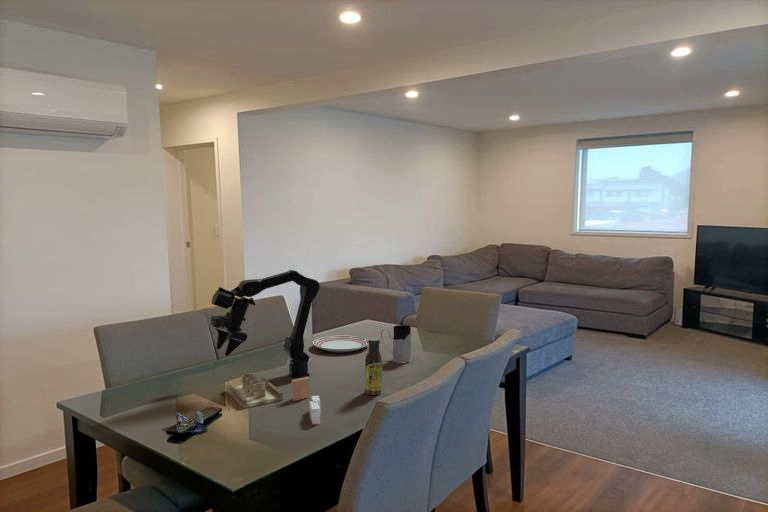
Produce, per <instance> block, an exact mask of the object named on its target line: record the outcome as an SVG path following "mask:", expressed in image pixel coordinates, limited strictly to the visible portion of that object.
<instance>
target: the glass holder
mask: <svg viewBox="0 0 768 512" xmlns="http://www.w3.org/2000/svg"><path fill="white" fill-rule="evenodd" d="M384 330H386V331H387V332H388V333H389V334H388V335H389V338H390V339H391V340H392V345H393V346H392V347H393V348H392V349H393V350H392V349H390V347H388V346H387V344H385V341H384V340H383V335H382V334H383V331H384ZM391 335H392V334H391V331H390V329H388V328H383V329H382V330H381V331H380V340H381V342H382V343H383V345H384V347H385V348H386V349H387V350H388V351H390V353H391V354H392V357H393V358H392V360H393V361H395V362H409V361H411V360H412V361H413V359H412V327H411V326H410V325H405V324H399V325H398V324H397V325H394V326H393V337H392V336H391ZM393 361H392V362H393Z"/></svg>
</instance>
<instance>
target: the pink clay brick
mask: <svg viewBox="0 0 768 512" xmlns="http://www.w3.org/2000/svg"><path fill="white" fill-rule="evenodd" d="M310 386H311V384H310V377H308V376H304V377H299V378H294V379H291V399H293V401H294V402H295V401H300V399H301V400H304V398H305V399H308V398H309V397H310V398H311V387H310Z"/></svg>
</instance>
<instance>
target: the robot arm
mask: <svg viewBox="0 0 768 512" xmlns="http://www.w3.org/2000/svg"><path fill="white" fill-rule="evenodd" d="M290 282H293V283H295V284H296V285H299V297H300V300H299V305H298V309H297V313H296V316H295V321H294V324H293V329H292V333H291V334H290V335H289V337H288V336H286V337H285V339H284V340H285V341H284V344H283V346H282V347H283V348H284V349H283V350H284V353H285V354H286V355H287V356H288V357H289V359H290V360H289V363H288V364H289V365H288V370H289V371H288V375H289V376H290V377H292V378H294V379H299V378H304V377H308V376H310V373H309V372H308V371H309V370H308V369H309V368H308V367H309V366H308V362H309V360H310V355H309V354H307V353H306V352H304V351H305V340H304V335H305V331H306V327H307V323H308V319H309V315H310V311H311V307H312V303H313V301H314V300H315V298H317V295H318V293H319V291H320V288H321V286H320V283H319V281H318V280H316V279H313V278H309V277H307V276H305V275H303V274H301V273H300V272H298V271H296V270H295V269H289V270H288V271H285V272H284V271H283V272H281V273H277V274H274V275H270V276H267V277H264V278H256V279H255V278H253V279H243V280H241V281H240V282H239V284H238V285H237V286H236V287H235V288H233V289H232V290H228V289H226V288H223V287H221V286H219V287H218V288H217V290H216V291H215V292H214V294H213V295H212V297H211V298H212V299H211V305H214V306H217V307H219V308H222V309H226V310H227V309H229V308H230V311H227V312H226V313H225V315H212V316H210V326H212V327H213V328H214V330H215V331H216V333H217V341H216V349H217V350H221V348H222V347H223V345H224V344H225V343H226V341H227V345H226V349H225V351H224V352H225V353H224V356H226V357H228V356H229V355H231V354H232V353H233V352H234V350H236V349H237V348H238V347H239V346H240V345H241V344H244V342H246V341H247V339H248V334H247V333H246V332H244V331H242V330H243V329H242V328H241V327H242V324H243V322H245V321H246V319H247V318H246V317H245V316H246V314H247V311H248V308H249V306H250V305H252V306H256V303H255V301H254V298H253V297H255V296H256V295H259V294H260V293H261V292H263V291H264V290H267V289H270V288H271V289H272V288H273V287H276V286H280V285H283V284H287V283H290Z"/></svg>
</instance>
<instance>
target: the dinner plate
mask: <svg viewBox="0 0 768 512" xmlns="http://www.w3.org/2000/svg"><path fill="white" fill-rule="evenodd" d="M368 341H369V339H368V338H365V337H362V336H356V335H346V334H345V335H328V336H323V337H318V338H316V339H314V340H313V341H312V345H313V346H315V348H318V349H320V350H323V351H325V350H326V352H329V351H330V352H329V353H349V351H351V352H355V351H354V350H356V351H358V350H360V349H363V348H365V347H366V346H369V343H368Z"/></svg>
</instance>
